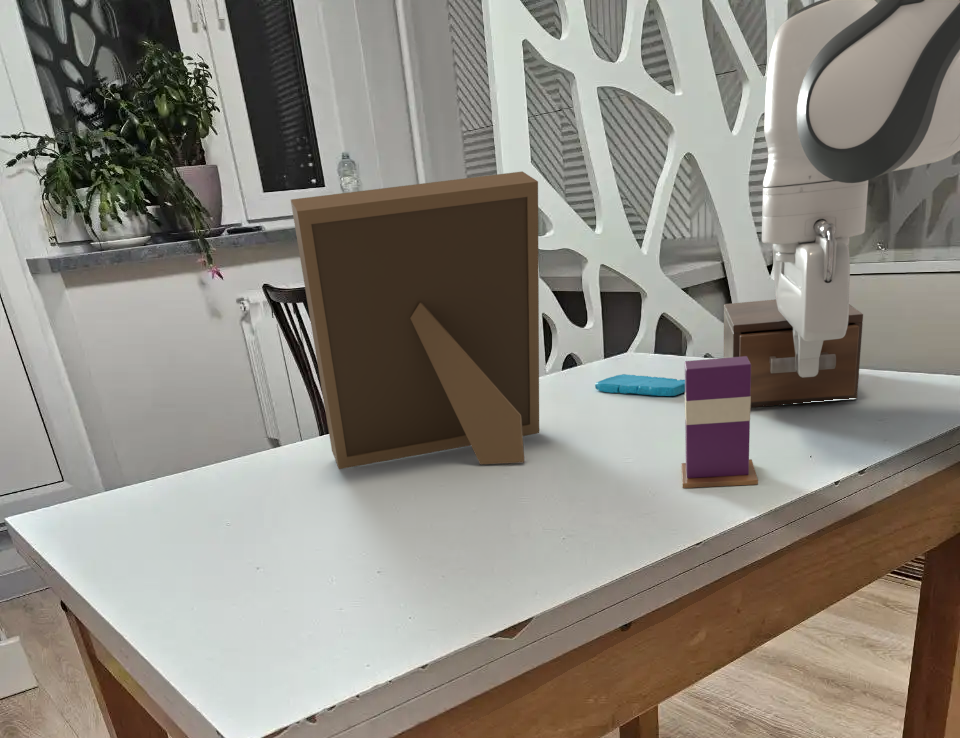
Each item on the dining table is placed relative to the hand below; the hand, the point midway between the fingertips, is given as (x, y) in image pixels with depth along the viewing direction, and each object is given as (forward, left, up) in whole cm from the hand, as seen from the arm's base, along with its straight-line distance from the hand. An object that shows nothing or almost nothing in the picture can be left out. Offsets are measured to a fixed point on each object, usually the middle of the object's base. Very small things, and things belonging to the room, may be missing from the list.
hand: (806, 374), depth 88 cm
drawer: (0, -11, -4) cm, 12 cm away
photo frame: (+35, +5, -5) cm, 36 cm away
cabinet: (0, -16, -5) cm, 16 cm away
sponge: (+16, -20, -5) cm, 26 cm away
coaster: (+9, +16, -5) cm, 19 cm away
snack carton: (+9, +16, -4) cm, 19 cm away
